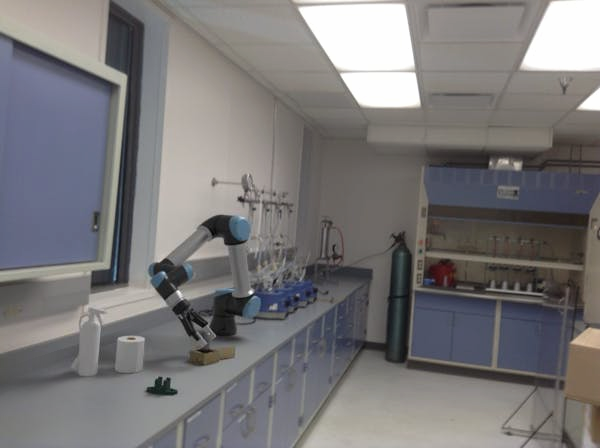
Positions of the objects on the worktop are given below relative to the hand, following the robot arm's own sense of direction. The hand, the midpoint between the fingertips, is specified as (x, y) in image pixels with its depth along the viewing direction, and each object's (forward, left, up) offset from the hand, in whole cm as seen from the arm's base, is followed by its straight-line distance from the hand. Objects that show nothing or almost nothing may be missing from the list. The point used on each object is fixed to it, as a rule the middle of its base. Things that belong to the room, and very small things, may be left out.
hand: (209, 342), depth 224 cm
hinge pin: (+1, -2, -8) cm, 8 cm away
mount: (+38, +18, -9) cm, 42 cm away
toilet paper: (+32, -10, -9) cm, 34 cm away
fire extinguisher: (+47, -15, -9) cm, 50 cm away
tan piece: (-5, -6, -8) cm, 11 cm away
